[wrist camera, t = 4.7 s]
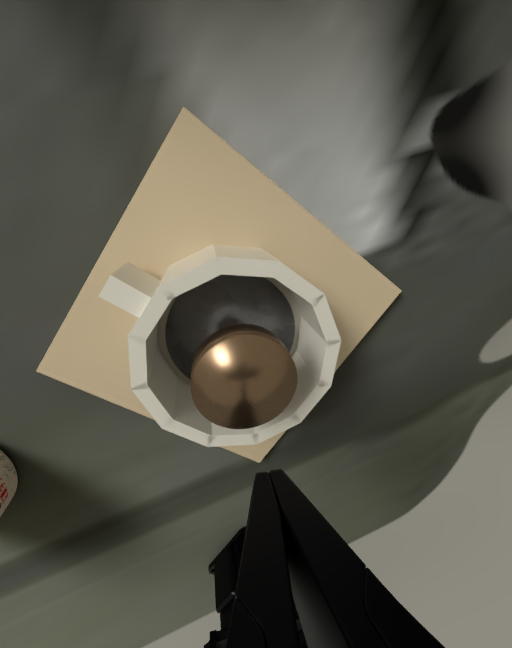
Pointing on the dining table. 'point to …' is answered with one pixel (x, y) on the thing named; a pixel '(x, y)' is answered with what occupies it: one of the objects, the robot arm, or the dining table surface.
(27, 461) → the dining table surface
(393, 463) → the dining table surface
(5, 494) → the teacup with lid
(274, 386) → the plunger
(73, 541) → the dining table surface
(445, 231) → the dining table surface
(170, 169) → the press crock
